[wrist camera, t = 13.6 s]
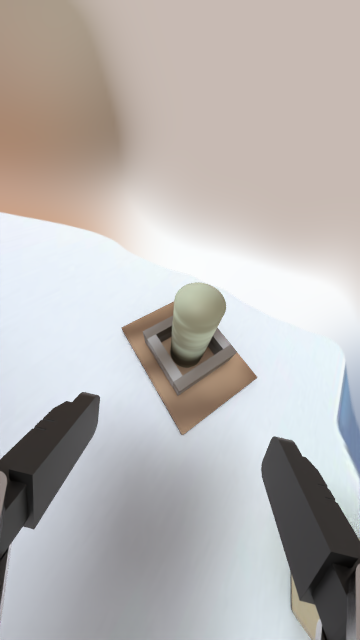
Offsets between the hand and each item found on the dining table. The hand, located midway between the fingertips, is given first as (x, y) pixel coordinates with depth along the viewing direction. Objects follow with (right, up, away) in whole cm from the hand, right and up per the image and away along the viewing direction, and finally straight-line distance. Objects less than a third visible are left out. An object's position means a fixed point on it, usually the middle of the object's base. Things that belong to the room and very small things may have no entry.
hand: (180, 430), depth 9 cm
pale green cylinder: (+1, +1, +18) cm, 18 cm away
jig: (+1, 0, +19) cm, 19 cm away
